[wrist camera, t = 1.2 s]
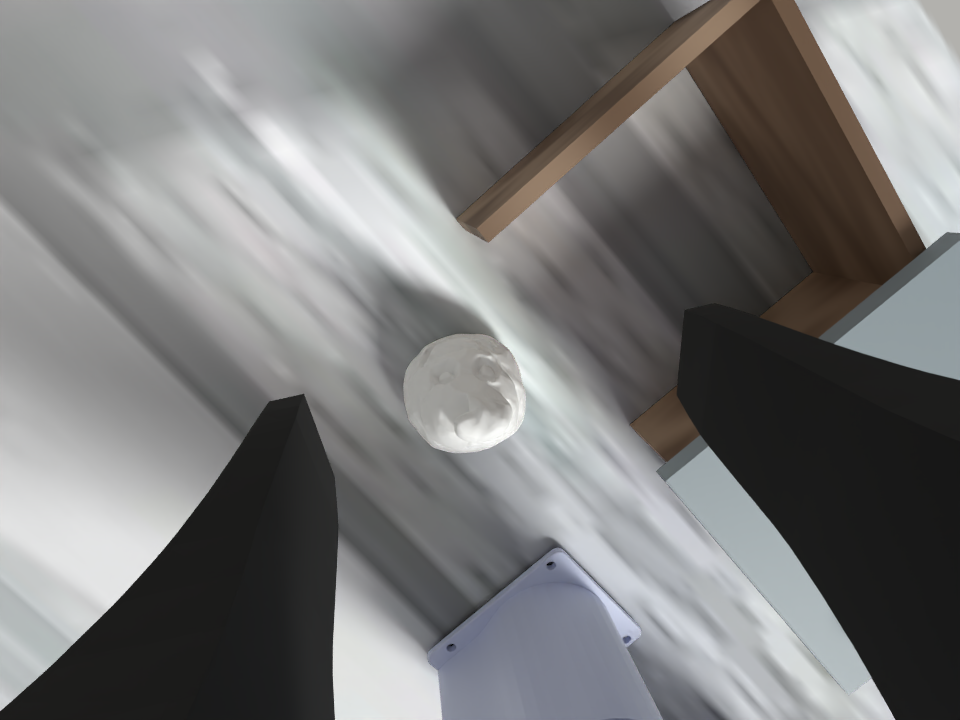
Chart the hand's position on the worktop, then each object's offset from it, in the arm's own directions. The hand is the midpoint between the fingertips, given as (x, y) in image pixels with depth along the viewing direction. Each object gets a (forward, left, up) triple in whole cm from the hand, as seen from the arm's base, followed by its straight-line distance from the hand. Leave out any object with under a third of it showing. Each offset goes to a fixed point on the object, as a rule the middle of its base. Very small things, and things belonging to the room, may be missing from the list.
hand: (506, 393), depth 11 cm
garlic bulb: (-3, -5, -16) cm, 17 cm away
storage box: (+8, -6, -15) cm, 18 cm away
